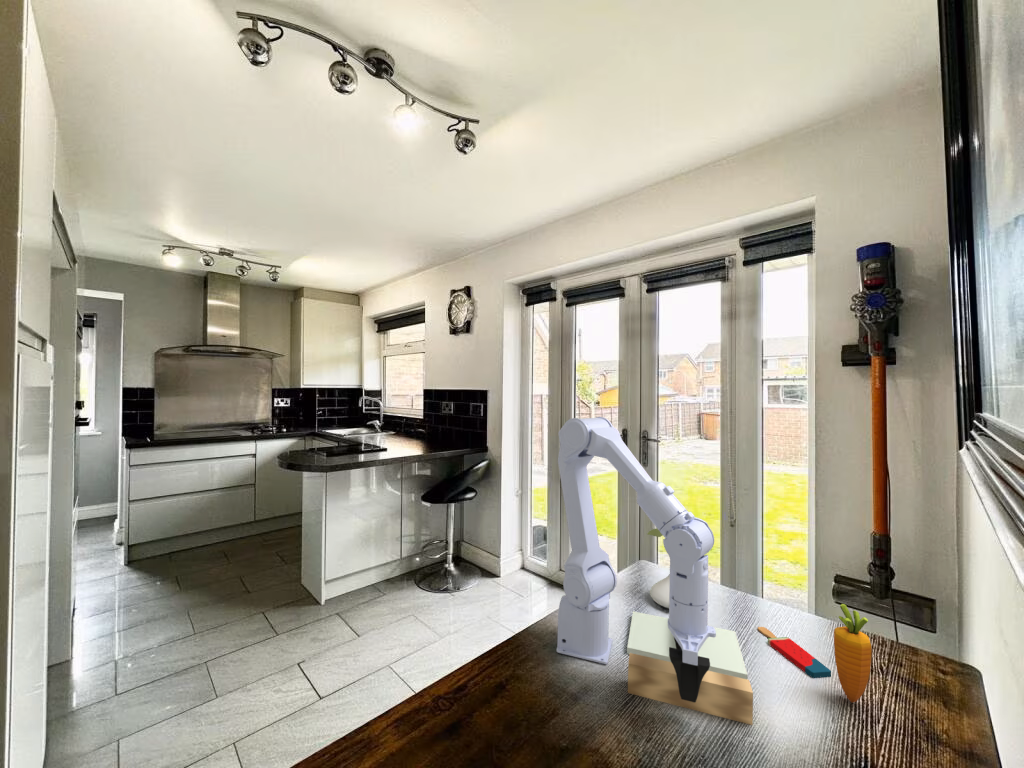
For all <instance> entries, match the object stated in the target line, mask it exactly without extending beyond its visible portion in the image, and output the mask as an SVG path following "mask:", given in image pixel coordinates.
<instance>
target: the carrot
mask: <svg viewBox="0 0 1024 768" xmlns="http://www.w3.org/2000/svg"><path fill="white" fill-rule="evenodd" d="M839 608H840V610H841V612H842V614H843V615H844V616H845V617H843V616H841V615H839V616H838V619H839V620H840V621H841V622H842V623H843V625H844V626H837V627H834V629H833V649H834V660H835V665H836V672H837V676H838V681H839V683H840V685H841V689H842V690H843V693H844V694H845V696H846V699H848V700H849V702H850V703H856V702H857V701H858V700H860V698H861V697H862V696H863V695H864V693H865V691H866V689H867V685H868V682H869V679H870V674H871V667H872V652H873V651H872V644H871V643H872V642H871V639H870V637H869V636H868V635H867V634H866V633H864V632H862V631H861V629H863V627H864V626H865V625H866V624H867V623H868V622H869V620H868V618H866V617H865V616H864V617H862V618H861V616H860V613H859V611H857V610H852V614H851V612H850V610H849V608H848V607H847V605H846V604H844V603H841V604H840V605H839ZM852 615H853V617H852ZM853 619H854V620H853Z"/></svg>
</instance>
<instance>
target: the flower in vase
mask: <svg viewBox="0 0 1024 768" xmlns="http://www.w3.org/2000/svg"><path fill="white" fill-rule="evenodd" d="M646 535H649V536H652V537H656V538H661V537H664V536H663V535H662V534H661V533H660V531H659V530H658V529H657V528H656V527H655V528H652V529H650V530H649V531H648V532H647V533H646ZM669 589H670V573H668V575H667V576H666V577H665V578H663V579H661V580H659V581H657V582H655V584H653V585H652V586H651V588H650V590H649V595H650V598H651V599H652V600H653V601H654V602H655V603H657V604H658V605H659V606H662V607H664V608H666V609H669Z"/></svg>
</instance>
